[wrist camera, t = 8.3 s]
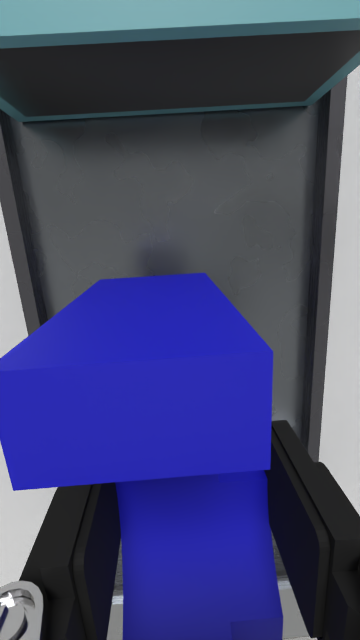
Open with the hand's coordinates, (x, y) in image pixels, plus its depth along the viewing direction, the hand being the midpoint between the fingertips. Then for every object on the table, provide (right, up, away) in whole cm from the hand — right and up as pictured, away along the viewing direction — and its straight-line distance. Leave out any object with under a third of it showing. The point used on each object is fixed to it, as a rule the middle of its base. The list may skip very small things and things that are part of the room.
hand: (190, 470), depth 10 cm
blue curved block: (0, 0, +1) cm, 1 cm away
